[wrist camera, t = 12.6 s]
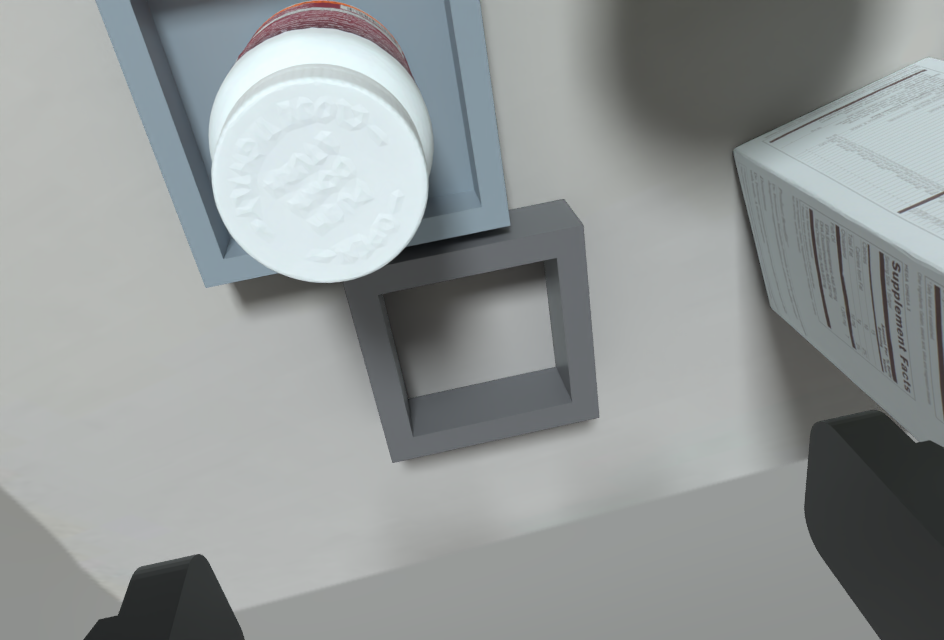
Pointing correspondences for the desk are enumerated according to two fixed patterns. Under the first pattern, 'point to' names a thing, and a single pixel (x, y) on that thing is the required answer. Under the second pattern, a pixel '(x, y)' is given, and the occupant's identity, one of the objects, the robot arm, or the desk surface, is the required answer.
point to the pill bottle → (321, 145)
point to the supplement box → (861, 237)
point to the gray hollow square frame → (499, 401)
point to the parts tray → (215, 52)
